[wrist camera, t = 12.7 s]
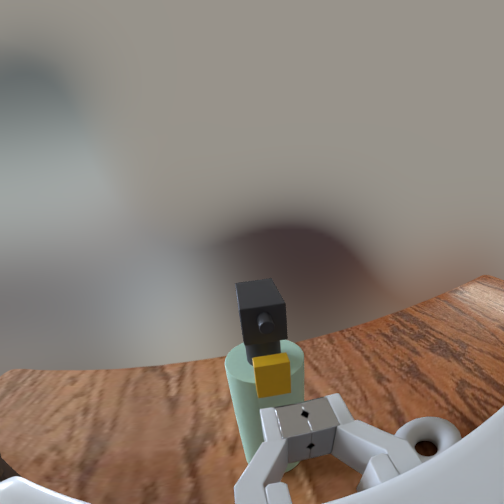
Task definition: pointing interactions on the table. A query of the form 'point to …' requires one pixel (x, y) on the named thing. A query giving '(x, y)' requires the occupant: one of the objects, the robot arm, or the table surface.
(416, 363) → the table surface
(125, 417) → the table surface
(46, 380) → the table surface
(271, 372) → the block
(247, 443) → the spray bottle
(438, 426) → the donut
